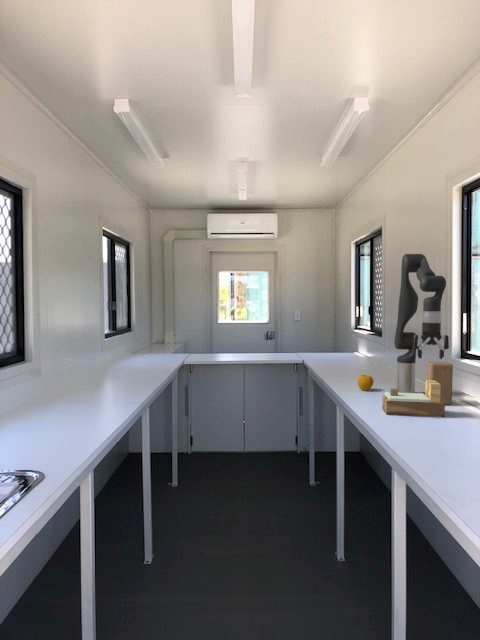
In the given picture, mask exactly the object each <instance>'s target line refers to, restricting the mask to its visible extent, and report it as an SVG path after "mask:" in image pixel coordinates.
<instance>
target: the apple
mask: <svg viewBox="0 0 480 640" xmlns="http://www.w3.org/2000/svg"><path fill="white" fill-rule="evenodd" d="M374 383H375V382H374V379H373V376H372V375H370V374H369V375H368V374H360V375H359V376H358V377H357V386H358V388H359V389H360V390H361V391H363V392H368V391H369V390H371V388H372V387H373V386H374Z"/></svg>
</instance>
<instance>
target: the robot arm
mask: <svg viewBox="0 0 480 640" xmlns="http://www.w3.org/2000/svg"><path fill="white" fill-rule="evenodd" d="M400 268H401V269H400V270H401V271H400V272H401V274H400V288H399V289H400V290H399V298H398V307H397V308H398V309H397V311H398V312H397V320H396V321H397V322H396V327H395V333H394V341H393V342H394V348H395V349H397V350H407V352H405V353H404V354H400V355H398V356H397V358H396V388H397V389H398V393H416V363H417V362H416V361H417V360H416V358H418V359H423V358H422V356H423V355H422V354H423V350H422V349H423V348H424V347H425V346H431V345H432V346H437V347H438V349H439V352H438V353H439V357H438V358H439V359H440V360H442V359H443V358H444V356H445V355H444V354H445V350H449V348H450V344H449V343H450V341H449V340H450V339H449V338H450V337H449V335H447V334H444V335H442V333H441V332H442V331H441V330H442V327H441V326H442V312H441V308H442V307H441V306H442V300H443V295H444V293H445V290H446V287H447V280H446V278H445V277H444V276H443V275H436V274H435V272H434V271H433V270H432V269H431V267H430V264H429V262H428V259H427V257H426V256H425V255H424V254H423V253H405V254H403V255H402V259H401V266H400ZM410 273H411V274H412V273H416V274H415V275H416V279H417V280H418V281H419V289H420V290H421V291H422V292H426V293H434V294H433V295H432V296H430V297H429V296H428V297H425V298H424V299H423V302H422V303H423V305H422V308H423V309H422V317H421V319H422V320H421V321H422V322H421V334H417V333H416V332H413V331H411V332H409V331H405V328H406V326H407V324H408V323H409V321H411V319H412V318H413V317H414V315H416V313H417V310H418V306H419V304H418V303H419V296H418V293H417V292H416V290H415V288H414V287H413V285H412V283H411V280H410V276H409V274H410ZM420 338H421V340H422V341H421V342H420V343H419V342H418V341H419V340H420ZM441 339H442V341H443V345H442V343H441V342H440V341H441ZM418 343H419V345H418Z"/></svg>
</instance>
